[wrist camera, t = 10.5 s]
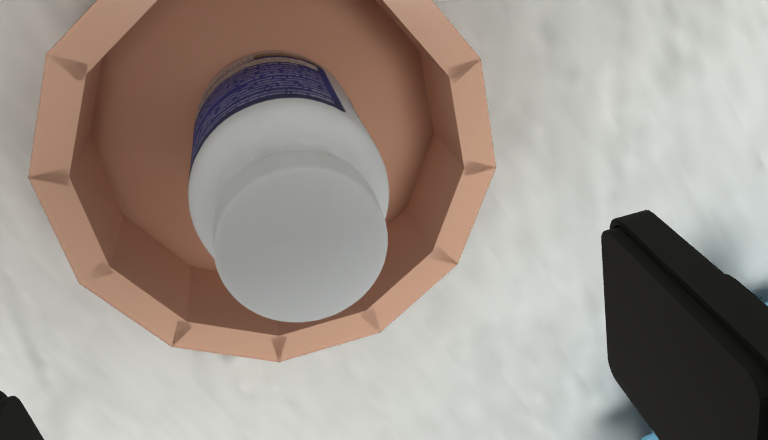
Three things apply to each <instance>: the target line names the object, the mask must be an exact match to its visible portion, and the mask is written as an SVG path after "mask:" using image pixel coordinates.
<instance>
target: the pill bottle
mask: <svg viewBox="0 0 768 440" xmlns="http://www.w3.org/2000/svg"><path fill="white" fill-rule="evenodd" d="M188 199H189V210H190V215H191V218H192V222H193V225H194V228H195V230H196V232H197V234H198V236H199V238H200V240H201V242H202V243H203V245H204V246H205V248H206V249H207V250H208V252H209V253H210V254H211V255H212V257H213V258H214V259H215V264H216V268H217V271H218V274H219V276H220V278H221V280H222V282H223V284H224V285H225V287H226V288H227V290H228V291H229V292H230V293H231V295H232V296H233V297H234V298H235V299H236V300H237V301H238V302H239V303H241V304H242V305H243V306H245V307H246V308H247V309H249V310H251V311H253V312H254V313H257V314H259V315H261V316H263V317H266V318H270V319H273V320H277V321H283V322H310V321H315V320H320V319H323V318H327V317H330V316H332V315H335V314H337V313H339V312H341V311H343V310H345V309H346V308H348V307H349V306H351V305H353V304H354V303H355V302H357V301H358V300H359V299H360V298H361V297H362V296H363V295H364V294H365V293H367V291H368V290H369V289H370V288H371V287H372V285H373V284H374V282H375V281H376V279H377V278H378V276H379V274H380V272H381V270H382V267H383V265H384V262H385V258H386V253H387V246H388V232H387V227H386V222H385V218H386V214H387V210H388V204H389V183H388V176H387V172H386V168H385V165H384V163H383V160H382V157H381V155H380V153H379V150H378V148H377V147H376V145H375V143H374V142H373V140H372V138H371V136H370V135H369V133H368V131H367V130H366V128H365V127H364V125H363V123H362V122H361V120H360V118H359V116H358V114H357V113H356V111H355V109H354V107H353V105H352V103H351V101H350V99H349V97H348V96H347V94H346V93H345V91H344V89H343V88H342V86H341V85H340V84H339V82H338V81H337V80H336V78H335V77H334V76H333V75H332V74H331V73H330V72H329V71H328V70H326V69H325V68H324V67H322V66H321V65H320V64H318V63H316V62H314V61H313V60H311V59H309V58H306V57H304V56H301V55H297V54H293V53H289V52H281V51H269V52H261V53H256V54H252V55H248V56H246V57H244V58H241V59H239V60H237V61H235V62H233V63H232V64H230V65H229V66H227V67H226V68H224V69H223V70H222V71H221V72H219V73H218V74H217V75H216V76H215V77H214V79H213V80H212V81H211V82H210V83H209V85H208V86H207V88H206V90H205V91H204V93H203V95H202V97H201V99H200V102H199V105H198V108H197V112H196V117H195V124H194V134H193V145H192V155H191V165H190V174H189V185H188Z"/></svg>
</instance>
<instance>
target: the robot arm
mask: <svg viewBox="0 0 768 440" xmlns="http://www.w3.org/2000/svg"><path fill="white" fill-rule="evenodd" d="M601 244H602V262H603V280H604V298H605V316H606V334H607V352H608V362H609V366H610V369H611V372H612V374H613V376H614V378H615V380H616V381H617V383H618V384H619V385H620V387H621V388H622V389H623V391H624V392H625V394H626V395H627V396H628V398H629V399H630V400H631V402H632V403H633V405H634V406H635V407H636V409H637V410H638V411H639V413H640V414H641V415H642V417H643V418H644V420H645V421H646V422H647V424H648V425H649V426H650V428H651V429H652V431H653V432H654V433H655V435H656V436H657V437H658V439H659V440H768V306H767V305H766V304H765V303H763V302H762V301H761V300H760V299H759V298H757V297H756V296H755V295H754V294H753V293H751V292H750V291H749V290H748V289H747V288H746V287H744V286H743V285H742V284H741V283H740V282H738V281H737V280H736V279H734V278H733V277H731V276H730V275H728V274H724V273H723V272H722V271H720V270H719V269H718V268H717V267H716V266H715V265H713V264H712V263H711V262H710V261H709V260H708V259H706V258H705V257H704V256H703V255H702V254H701V253H699V252H698V251H697V250H696V249H695V248H694V247H692V246H691V245H690V244H689V243H688V242H687V241H685V240H684V239H683V238H682V237H681V236H680V235H678V234H677V233H676V232H675V231H674V230H672V229H671V228H670V227H669V226H668V225H667V224H665V223H664V222H663V221H662V220H661V219H660V218H658V217H657V216H656V215H655V214H654V213H652V212H651V211H649V210H644V211H641V212H637V213H633V214H630V215H626V216H622V217H619V218H615V219H613V220H612V221H611V224H610V229H609V230H606V231H604V232H603V233H602V236H601ZM0 440H44V439H43V437H42V436H41V434H40V432H39V431H38V429H37V427H36V426H35V424H34V422H33V421H32V419H31V417H30V416H29V414H28V412H27V411H26V409H25V407H24V406H23V404H22V402H21V401H20V400H19V399H18V398H17V397H16V396H10V397H7V396H6V394H4V393H3V392H1V391H0Z"/></svg>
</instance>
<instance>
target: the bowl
mask: <svg viewBox="0 0 768 440" xmlns="http://www.w3.org/2000/svg"><path fill="white" fill-rule="evenodd" d="M269 51H281V52H289V53H293V54H297V55H301V56H304V57H306V58H309V59H311V60H313V61H314V62H316V63H318V64H320V65H321V66H322V67H324V68H325V69H326V70H328V71H329V72H330V73H331V74H332V75H333V76H334V77H335V78H336V80H337V81H338V82H339V84H340V85H341V86H342V88H343V89H344V91H345V93H346V94H347V96H348V97H349V99H350V101H351V103H352V105H353V107H354V109H355V111H356V113H357V114H358V116H359V118H360V120H361V122H362V123H363V125H364V127H365V128H366V130H367V131H368V133H369V135H370V136H371V138H372V140H373V142H374V143H375V145H376V147H377V148H378V150H379V153H380V155H381V157H382V160H383V163H384V165H385V168H386V172H387V176H388V183H389V204H388V210H387V214H386V218H385V222H386V227H387V232H388V246H387V253H386V258H385V262H384V265H383V267H382V270H381V272H380V274H379V276H378V278H377V279H376V281H375V282H374V284H373V285H372V287H371V288H370V289H369V290H368V291H367V293H365V294H364V295H363V296H362V297H361V298H360V299H359V300H358V301H357V302H355V303H354V304H353V305H351V306H349V307H348V308H346V309H345V310H343V311H341V312H339V313H337V314H335V315H332V316H330V317H327V318H323V319H320V320H315V321H310V322H283V321H277V320H273V319H270V318H266V317H263V316H261V315H259V314H257V313H254V312H253V311H251V310H249V309H247V308H246V307H245V306H243V305H242V304H241V303H239V302H238V301H237V300H236V299H235V298H234V297H233V296H232V295H231V293H230V292H229V291H228V290H227V288H226V287H225V285H224V284H223V282H222V280H221V278H220V276H219V274H218V271H217V268H216V264H215V259H214V258H213V257H212V255H211V254H210V253H209V252H208V250H207V249H206V248H205V246H204V245H203V243H202V242H201V240H200V238H199V236H198V234H197V232H196V230H195V228H194V225H193V222H192V218H191V215H190V210H189V199H188V185H189V174H190V165H191V155H192V145H193V134H194V124H195V117H196V112H197V108H198V105H199V102H200V99H201V97H202V95H203V93H204V91H205V90H206V88H207V86H208V85H209V83H210V82H211V81H212V80H213V79H214V77H215V76H216V75H217V74H218V73H219V72H221V71H222V70H223V69H224V68H226V67H227V66H229V65H230V64H232V63H233V62H235V61H237V60H239V59H241V58H244V57H246V56H248V55H252V54H256V53H261V52H269ZM495 169H496V164H495V157H494V150H493V143H492V136H491V129H490V121H489V114H488V107H487V100H486V93H485V86H484V79H483V72H482V65H481V59H480V58H479V56H478V55H477V54H476V53H475V52H474V50H473V49H472V48H471V47H470V46H469V44H468V43H467V42H466V41H465V40H464V38H463V37H462V36H461V35H460V34H459V32H458V31H457V30H456V29H455V27H454V26H453V25H452V24H451V23H450V21H449V20H448V19H447V18H446V17H445V15H444V14H443V13H442V12H441V11H440V9H439V8H438V7H437V6H436V5H435V3H434V2H433V1H432V0H97V1H96V2H95V3H94V4H93V5H92V6H91V7H90V8H89V9H88V10H87V11H86V12H85V13H84V15H83V16H82V17H81V18H80V19H79V20H78V21H77V22H76V23H75V24H74V25H73V26H72V27H71V28H70V29H69V30H68V32H67V33H66V34H65V35H64V36H63V37H62V38H61V39H60V40H59V41H58V42H57V43H56V44H55V45H54V46H53V47H52V49H51V50H50V51H49V52H48V53H47V54H46V60H45V67H44V74H43V81H42V88H41V94H40V101H39V108H38V115H37V122H36V129H35V136H34V143H33V149H32V156H31V163H30V170H29V177H28V178H29V180H30V182H31V184H32V186H33V188H34V190H35V192H36V195H37V197H38V199H39V201H40V203H41V205H42V207H43V209H44V211H45V213H46V215H47V218H48V220H49V222H50V224H51V226H52V228H53V230H54V232H55V234H56V236H57V238H58V240H59V243H60V245H61V247H62V249H63V251H64V253H65V255H66V257H67V259H68V261H69V263H70V266H71V268H72V270H73V272H74V274H75V276H76V278H77V280H78V282H79V284H81V285H82V286H84V287H85V288H87V289H88V290H90V291H91V292H92V293H94V294H95V295H97V296H98V297H100V298H101V299H103V300H104V301H106V302H107V303H109V304H110V305H111V306H113V307H114V308H116V309H117V310H119V311H120V312H122V313H123V314H125V315H126V316H127V317H129V318H130V319H132V320H133V321H135V322H136V323H138V324H139V325H141V326H142V327H144V328H145V329H146V330H148V331H149V332H151V333H152V334H154V335H155V336H157V337H158V338H160V339H161V340H163V341H164V342H165V343H167V344H168V345H170V346H171V347H177V348H184V349H191V350H198V351H205V352H212V353H219V354H226V355H233V356H240V357H247V358H254V359H261V360H268V361H275V362H281V361H285V360H288V359H291V358H295V357H298V356H302V355H305V354H308V353H312V352H315V351H319V350H322V349H325V348H329V347H332V346H336V345H339V344H342V343H346V342H349V341H353V340H356V339H359V338H363V337H366V336H369V335H373V334H376V333H380V332H381V331H382V330H383V329H384V328H386V327H387V326H388V325H389V324H390V323H391V322H392V321H394V320H395V319H396V318H397V317H398V316H399V315H400V314H402V313H403V312H404V311H405V310H406V309H407V308H408V307H410V306H411V305H412V304H413V303H414V302H415V301H416V300H417V299H419V298H420V297H421V296H422V295H423V294H424V293H425V292H427V291H428V290H429V289H430V288H431V287H432V286H433V285H435V284H436V283H437V282H438V281H439V280H440V279H441V278H443V277H444V276H445V275H446V274H447V273H448V272H449V271H450V270H452V269H453V268H454V267H455V266H456V265H457V264H458V262H459V259H460V257H461V254H462V252H463V249H464V247H465V244H466V242H467V239H468V237H469V234H470V232H471V229H472V227H473V224H474V222H475V219H476V217H477V214H478V212H479V209H480V207H481V204H482V202H483V199H484V197H485V194H486V192H487V189H488V187H489V184H490V182H491V179H492V177H493V174H494V172H495Z"/></svg>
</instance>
